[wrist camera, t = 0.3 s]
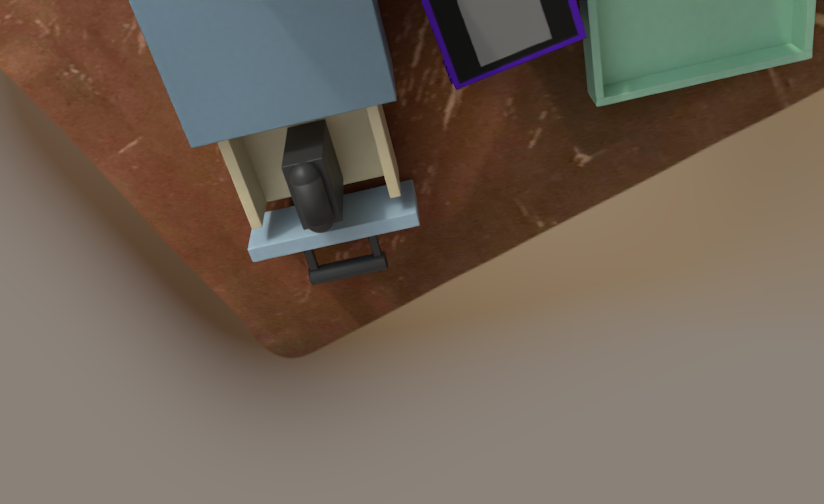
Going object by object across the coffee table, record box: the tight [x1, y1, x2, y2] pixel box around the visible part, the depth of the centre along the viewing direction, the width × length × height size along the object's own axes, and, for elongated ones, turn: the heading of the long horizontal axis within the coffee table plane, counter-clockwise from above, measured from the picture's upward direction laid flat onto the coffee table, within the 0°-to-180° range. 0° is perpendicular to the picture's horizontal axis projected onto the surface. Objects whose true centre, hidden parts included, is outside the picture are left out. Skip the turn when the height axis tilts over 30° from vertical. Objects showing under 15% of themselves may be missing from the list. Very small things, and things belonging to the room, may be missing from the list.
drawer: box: [217, 104, 420, 285], centre depth 56 cm, size 19×13×5 cm
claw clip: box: [281, 119, 343, 233], centre depth 54 cm, size 5×3×7 cm, turn 12°
